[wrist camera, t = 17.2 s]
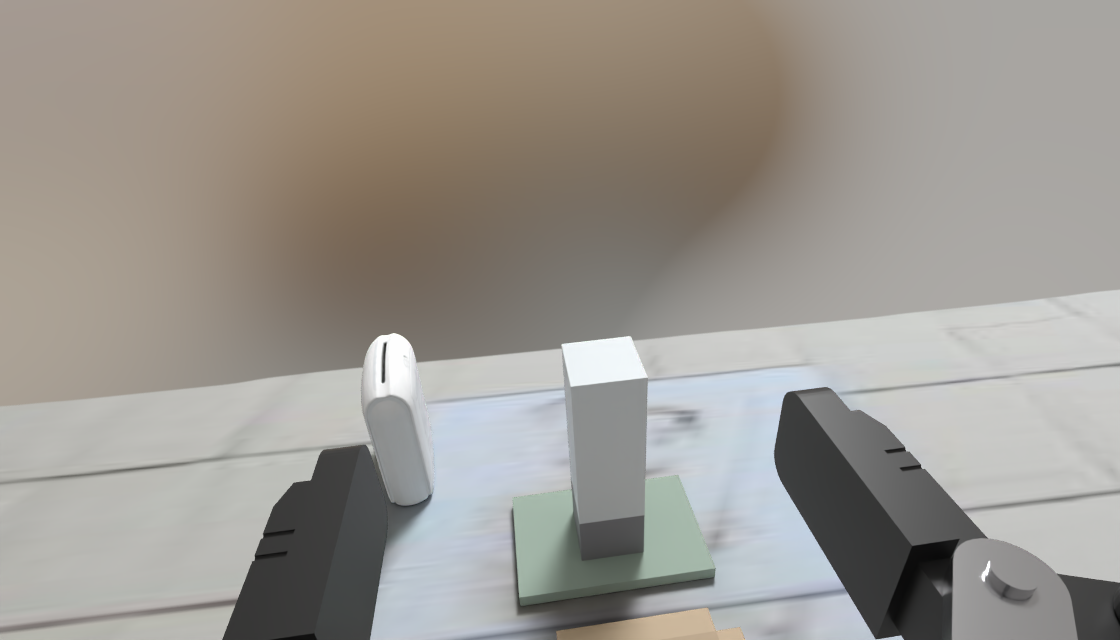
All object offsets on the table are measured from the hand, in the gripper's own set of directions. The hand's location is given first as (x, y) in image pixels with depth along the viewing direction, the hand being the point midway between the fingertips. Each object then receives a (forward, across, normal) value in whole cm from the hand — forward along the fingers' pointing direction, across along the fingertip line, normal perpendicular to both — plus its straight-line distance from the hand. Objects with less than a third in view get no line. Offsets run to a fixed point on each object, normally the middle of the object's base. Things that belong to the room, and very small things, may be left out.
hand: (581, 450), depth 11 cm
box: (+21, -4, +29) cm, 36 cm away
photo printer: (+32, +12, +30) cm, 46 cm away
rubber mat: (+21, -4, +30) cm, 37 cm away
